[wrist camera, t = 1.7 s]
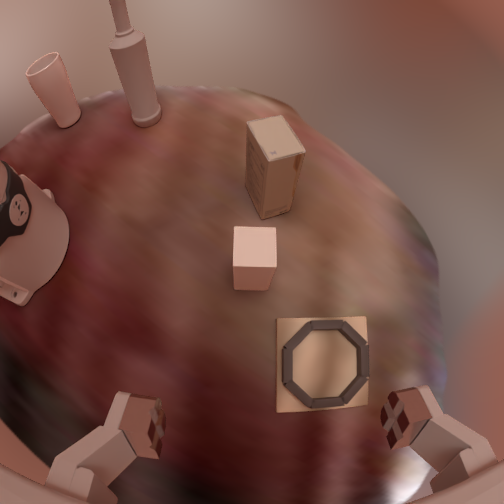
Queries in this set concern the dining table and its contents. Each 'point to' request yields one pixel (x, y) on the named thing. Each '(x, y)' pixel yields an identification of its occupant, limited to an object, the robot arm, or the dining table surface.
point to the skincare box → (272, 165)
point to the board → (321, 363)
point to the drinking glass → (54, 89)
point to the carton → (254, 257)
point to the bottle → (134, 68)
